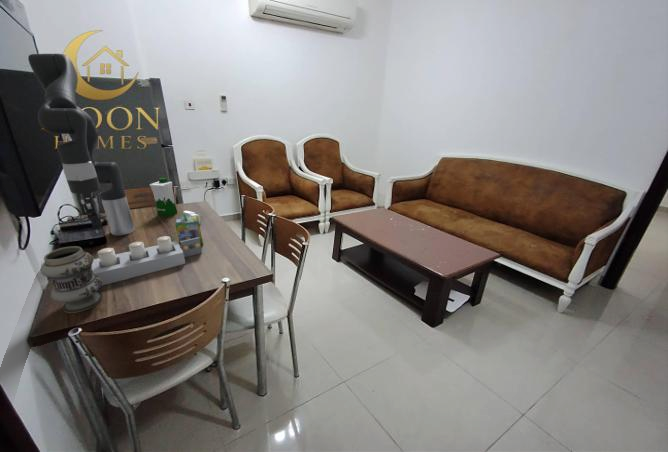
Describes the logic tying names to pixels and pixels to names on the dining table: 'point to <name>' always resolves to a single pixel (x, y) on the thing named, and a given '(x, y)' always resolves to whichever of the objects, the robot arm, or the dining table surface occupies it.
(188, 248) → the card
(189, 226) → the chalk box
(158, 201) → the milk carton
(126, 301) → the dining table surface
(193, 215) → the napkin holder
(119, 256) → the console
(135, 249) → the button
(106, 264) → the button
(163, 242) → the button
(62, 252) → the apothecary jar
